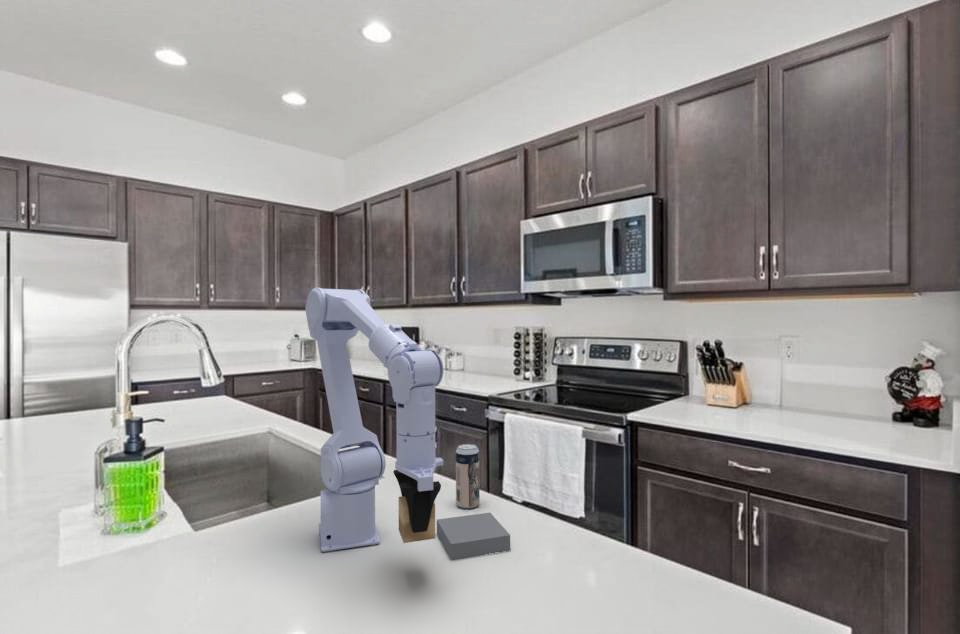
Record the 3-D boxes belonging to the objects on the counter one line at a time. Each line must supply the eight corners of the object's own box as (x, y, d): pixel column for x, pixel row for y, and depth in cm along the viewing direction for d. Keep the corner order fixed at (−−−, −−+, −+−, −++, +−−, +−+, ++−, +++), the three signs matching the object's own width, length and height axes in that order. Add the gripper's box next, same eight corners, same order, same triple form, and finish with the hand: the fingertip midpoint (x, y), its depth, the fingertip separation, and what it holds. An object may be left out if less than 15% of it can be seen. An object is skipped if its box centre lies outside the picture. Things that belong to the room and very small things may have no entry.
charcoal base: (451, 563, 77) (451, 544, 77) (436, 536, 86) (436, 519, 86) (510, 553, 80) (510, 535, 80) (490, 528, 90) (490, 512, 90)
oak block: (403, 543, 69) (403, 507, 69) (398, 529, 74) (398, 496, 74) (435, 538, 71) (435, 503, 71) (428, 525, 75) (428, 493, 75)
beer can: (476, 510, 97) (476, 450, 97) (453, 509, 98) (453, 448, 98) (481, 501, 102) (481, 444, 102) (459, 500, 103) (458, 443, 103)
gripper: (454, 441, 67) (455, 541, 67) (431, 420, 81) (432, 503, 80) (403, 445, 65) (403, 548, 64) (388, 423, 78) (389, 508, 78)
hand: (416, 523), depth 72 cm, fingers closed on oak block, 5 cm apart
